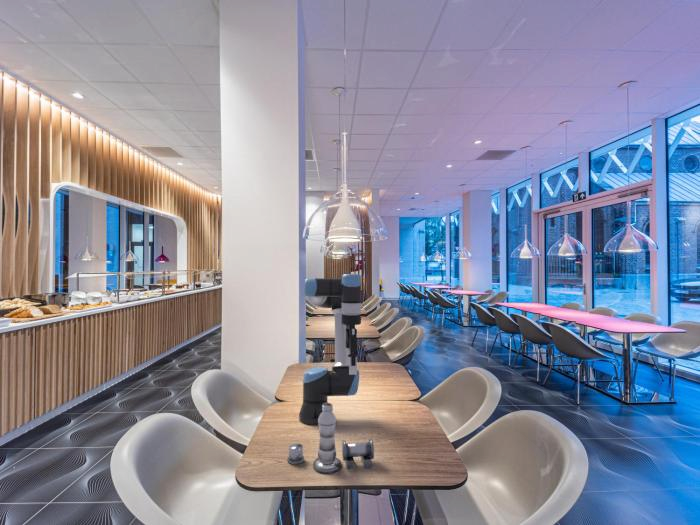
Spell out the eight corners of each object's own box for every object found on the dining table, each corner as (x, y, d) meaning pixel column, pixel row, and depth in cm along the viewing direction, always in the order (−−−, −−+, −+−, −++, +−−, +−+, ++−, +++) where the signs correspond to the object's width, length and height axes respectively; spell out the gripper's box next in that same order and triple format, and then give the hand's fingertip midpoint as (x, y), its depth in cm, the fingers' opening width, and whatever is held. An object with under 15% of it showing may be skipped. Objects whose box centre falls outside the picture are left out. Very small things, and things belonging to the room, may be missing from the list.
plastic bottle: (329, 468, 124) (330, 409, 125) (313, 463, 128) (314, 405, 129) (339, 460, 130) (340, 403, 130) (324, 455, 133) (325, 400, 134)
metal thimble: (283, 461, 131) (284, 447, 131) (294, 455, 136) (294, 441, 136) (296, 466, 128) (296, 452, 128) (307, 459, 133) (307, 445, 133)
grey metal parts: (313, 474, 123) (313, 450, 123) (312, 459, 132) (312, 437, 133) (375, 470, 126) (375, 446, 126) (369, 456, 135) (369, 434, 136)
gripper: (365, 318, 127) (365, 378, 127) (357, 310, 152) (356, 360, 152) (344, 318, 127) (344, 379, 126) (339, 310, 151) (338, 361, 151)
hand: (351, 369), depth 139 cm, fingers open, 13 cm apart
